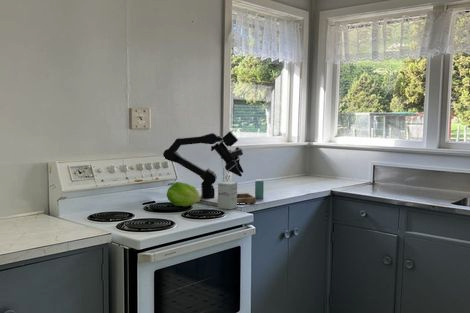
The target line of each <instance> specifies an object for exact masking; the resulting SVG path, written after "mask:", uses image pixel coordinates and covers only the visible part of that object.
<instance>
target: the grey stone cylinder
mask: <svg viewBox="0 0 470 313" xmlns="http://www.w3.org/2000/svg"><path fill="white" fill-rule="evenodd" d="M237 194H238V182H234V181H227V180H226V181H220V182H218V183H217V209H223V210H224V209H225V210H233V209H235V208H237V207H238V205H237ZM236 206H237V207H236Z"/></svg>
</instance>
